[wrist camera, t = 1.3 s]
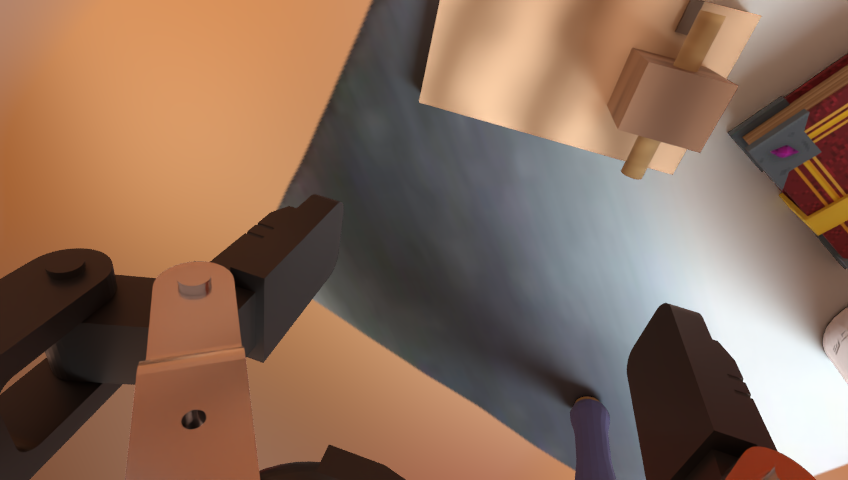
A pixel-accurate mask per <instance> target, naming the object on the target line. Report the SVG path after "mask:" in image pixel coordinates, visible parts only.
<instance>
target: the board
mask: <svg viewBox="0 0 848 480" xmlns="http://www.w3.org/2000/svg"><path fill="white" fill-rule="evenodd" d="M700 10H703V11H707V12H711V13H715V14H719V15H723V16H726V18H725V20H724V22H723V24H722V26H721V28H720V30H719V32H718V34H717V36H716V38H715V39H714V41H713V43H712V45H711V47H710V49H709V51H708V53H707V55H706V57H705V59H704V60H703V62H702V64H701V66H704V67H707V68H709V69H711V70H712V71H714V72H716V73H718V74H719V75H721V76H723V77H724V78H726V79H727V77H728V75H729V73H730V72H731V70H732V68H733V66H734V64H735V63H736V61H737V59H738V57H739V56H740V54H741V52H742V50H743V48H744V47H745V45H746V43H747V41H748V39H749V38H750V36H751V34H752V32H753V31H754V29H755V27H756V25H757V23H758V22H759V20H760V18H761V15H757V14H753V13H749V12H745V11H741V10H737V9H733V8H729V7H725V6H721V5H717V4H713V3H709V2H705V1H702V0H440V2H439V7H438V12H437V17H436V22H435V26H434V31H433V36H432V41H431V46H430V51H429V56H428V60H427V65H426V70H425V75H424V80H423V85H422V90H421V95H420V99H419V102H420V103H423V104H427V105H430V106H434V107H437V108H441V109H444V110H448V111H451V112H455V113H458V114H462V115H465V116H469V117H472V118H476V119H479V120H483V121H486V122H490V123H493V124H497V125H500V126H504V127H507V128H511V129H514V130H518V131H521V132H525V133H528V134H532V135H535V136H539V137H542V138H546V139H549V140H553V141H556V142H560V143H563V144H567V145H570V146H574V147H577V148H581V149H584V150H588V151H591V152H595V153H598V154H602V155H605V156H609V157H612V158H616V159H619V160H623V161H626V160H627V158H628V156H629V154H630V152H631V150H632V147H633V145H634V143H635V141H636V139H637V137H638V135H635V134H631V133H628V132H624V131H620V130H618V129H617V127H616V125H615V123H614V120H613V118H612V116H611V114H610V111H609V109H608V107H607V104H608V102H609V100H610V97H611V95H612V93H613V90H614V88H615V86H616V83H617V81H618V79H619V77H620V74H621V72H622V70H623V67H624V65H625V63H626V60H627V58H628V56H629V54H630V51H631V49H632V48H636V49H640V50H644V51H648V52H651V53H655V54H659V55H663V56H667V57H670V58H674V59H676V58H677V56H678V54H679V52H680V50H681V48H682V45H683V43H684V41H685V39H686V37H687V35H688V33H689V31H690V29H691V27H692V25H693V23H694V21H695V19H696V17H697V15H698V13H699V11H700ZM686 150H687V149H685V148H681V147H678V146H674V145H670V144H667V143H663V142H661V143H660V145H659V147H658V148H657V150H656V152H655V154H654V156H653V158H652V160H651V162H650V164H649V166H648V168H651V169H654V170H658V171H661V172H665V173H668V174H672V175H673V173H674V171H675V170H676V168H677V166H678V164H679V162H680V161H681V159H682V157H683V155H684V154H685V152H686Z"/></svg>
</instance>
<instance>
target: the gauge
mask: <svg viewBox="0 0 848 480" xmlns="http://www.w3.org/2000/svg"><path fill="white" fill-rule="evenodd" d="M725 18H726V16H723V15H719V14H715V13H711V12H707V11H703V10H700V11H699V13H698V15H697V17H696V19H695V21H694V23H693V25H692V27H691V29H690V31H689V33H688V35H687V37H686V39H685V41H684V43H683V45H682V48H681V50H680V52H679V54H678V56H677V58H676V59H674V58H670V57H667V56H663V55H659V54H655V53H651V52H648V51H644V50H640V49H636V48H632V49H631V51H630V54H629V56H628V58H627V60H626V63H625V65H624V67H623V70H622V72H621V74H620V77H619V79H618V81H617V83H616V86H615V88H614V90H613V93H612V95H611V97H610V100H609V102H608V104H607V107H608V109H609V111H610V114H611V116H612V118H613V120H614V123H615V125H616V127H617V129H618V130H620V131H624V132H628V133H631V134H635V135H638V137H637V139H636V141H635V143H634V145H633V147H632V150H631V152H630V154H629V156H628V158H627V160H626V162H625V164H624V166H623V168H622V170H621V172H622V173H623V174H624V175H626V176H628V177H630V178H633V179H642V177H643V175H644V173H645V171H646V169H647V168H648V166H649V164H650V162H651V160H652V158H653V156H654V154H655V152H656V150H657V148H658V147H659V145H660V143H661V142H663V143H667V144H670V145H674V146H678V147H681V148H685V149H688V150H692V151H695V152H699V153H700V152H701V150H702V148H703V147H704V145H705V143H706V142H707V140H708V138H709V136H710V135H711V133H712V131H713V130H714V128H715V126H716V124H717V123H718V121H719V119H720V117H721V116H722V114H723V112H724V111H725V109H726V107H727V105H728V104H729V102H730V100H731V99H732V97H733V95H734V93H735V92H736V90H737V88H738V85H736V84H734V83H733V82H731V81H729V80H728V79H726V78H724V77H723V76H721V75H719V74H718V73H716V72H714V71H712V70H711V69H709V68H707V67H704V66H701V64H702V62H703V60H704V59H705V57H706V55H707V53H708V51H709V49H710V47H711V45H712V43H713V41H714V39H715V38H716V36H717V34H718V32H719V30H720V28H721V26H722V24H723V22H724V20H725Z"/></svg>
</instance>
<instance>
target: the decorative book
mask: <svg viewBox="0 0 848 480" xmlns="http://www.w3.org/2000/svg"><path fill="white" fill-rule="evenodd" d="M728 134H729V135H730V136H731V137H732V138H733V140H734V141H735V142H736V143H737V144H738V145H739V146H740V148H741V149H742V150H743V151H744V152H745V153H746V155H747V156H748V157H749V158H750V159H751V160H752V161H753V163H754V164H755V165H756V166H757V167H758V168H759V169H760V170H761V172H763V171H765V173H766V174H767V175H768V176H769V177H770V178H771V180H772V181H773V182H774V183H775V184H776V186H777V187H778V188H779V189H780V190H781V191H782V193H781V194H779V196H780V197H781V199H782V200H783V201H784V202H785V203H786V204H787V206H788V207H789V208H790V209H791V210H792V211H793V212H794V213H795V214H796V215H797V216H798V217H799V218H800V219H801V220H802V221H803V222H804V223H805V224H806V225H807V226H808V227H809V228H810V229H811V230H812V231H813V232H814V234H815V235H816V236H817V237H818V238H819V240H820V241H821V242H822V243H823V244H824V246H825V247H826V248H827V249H828V250H829V252H830V253H831V254H832V255H833V256H834V257H835V259H836V260H837V261H838V262H839V263H840V265H841V266H842V267H843V268H844V269H847V268H848V54H846V55H845V56H844V57H842V58H841V59H839V60H838V61H836V62H835V63H833V64H832V65H831V66H829V67H828V68H826V69H825V70H823V71H822V72H820V73H819V74H818V75H816V76H815V77H813V78H812V79H810V80H809V81H807V82H806V83H805V84H803V85H802V86H800V87H799V88H797V89H796V90H794V91H793V92H792V93H790V94H789V95H787V96H786V97H784V98H783V97H779V98H778V99H776V100H775V101H773V102H772V103H771V104H769V105H768V106H766V107H765V108H763V109H762V110H760V111H759V112H757V113H756V114H754V115H753V116H752V117H750V118H749V119H747V120H746V121H744V122H743V123H741V124H740V125H738V126H737V127H736V128H734V129H733V130H731V131H730V132H728Z"/></svg>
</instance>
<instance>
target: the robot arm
mask: <svg viewBox="0 0 848 480" xmlns="http://www.w3.org/2000/svg"><path fill="white" fill-rule="evenodd" d="M343 213H344V205H343V203H342V202H339V201H336V200H333V199H330V198H326V197H323V196H320V195H317V194H313V195H311V196H310V197H309V198H308V199H307V200H306V201H305V202H303V203H302V204H301V205H300V206H299V207H298V208H294V207H290V206H288V207H285V208H282V209H279V210H276V211H274V212H271V213H269V214H268V215H267V216H266V217H265V218H263V219H262V220H261V221H260V222H259V223H258V225H255V226H254V227H252V228H251V229H250V230H249V231H248V232H247V234H246V233H245V234H244V235H242V236H241V237H240V238H239V239H238V240H236V241H235V242H234V243H233V244H231V245H230V246H229V247H228V248H227V249H225V250H224V251H223V252H222V253H220V254H219V255H218V256H217V257H215V258H214V259H213V260H212V261H210V262H203V261H197V262H196V261H194V262H187V263H182V264H179V265H175V266H173V267H171V268H169V269H167V270H165V271H164V272H162V273H161V274H160V275H159V276H158V277H157V278H145V277H135V276H124V275H115V274H114V269H113V264H112V261H111V259H110V258H109V257H108V256H107V255H106V254H104V253H102V252H99V251H96V250H92V249H66V250H59V251H55V252H52V253H48V254H45V255H42V256H40V257H38V258H36V259H34V260H32V261H30V262H29V263H27V264H25V265H24V266H22V267H20V268H18V269H17V270H15V271H13V272H12V273H10V274H8V275H6V276H5V277H3V278H1V279H0V392H1V390H2V389H3V387H4V386H5V385H6V383H7V382H8V381H9V380H10V379H11V378H12V377H13V376H14V375H15V374H17V373H18V372H19V371H20V370H22V369H23V368H24V367H26V366H27V365H28V364H30V363H31V362H32V361H33V360H35V359H36V358H37V357H38V356H40V355H41V354H42V353H43V352H45V353H46V356H47V358H45V359H44V360H43V361H42V362H41V363H39V364H38V365H37V366H35V367H34V368H33V369H32V370H30V371H29V372H28V373H27V374H25V375H24V376H23V377H22V378H20V379H19V380H18V381H17V382H15V383H14V384H13V385H12V386H11V387H9V388H8V389H7V390H6V391H5V392H3V393H2V394H1V395H0V480H29V479H31V477H33V476H34V474H35V473H36V472H37V471H38V470H39V469H40V468H41V467H42V466H43V465H44V464H45V463H46V462H47V461H48V460H49V459H50V458H51V457H52V456H53V455H54V454H55V453H56V452H57V451H58V450H59V449H60V448H61V447H62V446H63V445H64V444H65V443H66V442H67V441H68V440H69V438H71V437H72V436H73V435H74V434H75V432H76V431H77V430H78V429H79V428H80V427H81V426H82V425H83V424H84V423H85V422H86V421H87V420H88V419H89V418H90V417H91V416H92V415H93V414H94V413H95V412H96V411H97V410H98V409H99V408H100V407H101V406H102V405H103V404H104V403H105V402H106V400H108V399H109V398H110V397H111V396H112V394H114V392H115V391H116V390H117V389H118V388H119V387H120V386H121V385H122V384H135V393H134V401H133V411H132V419H131V429H130V437H129V447H128V455H127V465H126V474H125V480H405V479H404V478H402V477H401V476H399V475H398V474H397V473H395V472H394V471H392V470H391V469H390V468H388V467H387V466H385V465H383V464H380V463H377V462H375V461H372V460H369V459H367V458H364V457H361V456H358V455H356V454H353V453H350V452H348V451H345V450H342V449H339V448H337V447H334V446H331V445H329V446H328V448H327V450H326V452H325V454H324V456H323V458H322V460H321V462H293V463H287V464H280V465H277V466H273V467H269V468H266V469H263V470H260V471H259V465H258V457H257V448H256V440H255V432H254V425H253V415H252V408H251V399H250V390H249V382H248V374H247V365H246V357H249V358H252V359H254V360H257V361H260V362H263V363H264V361H265V360H266V359H267V357H268V356H269V355H270V354H271V352H272V351H273V350H274V348H275V347H276V346H277V344H278V343H279V342H280V340H281V339H282V338H283V336H284V335H285V334H286V332H287V331H288V330H289V328H290V327H291V326H292V325H293V323H294V322H295V321H296V320H297V318H298V317H299V316H300V314H301V313H302V312H303V310H304V309H305V308H306V306H307V305H308V304H309V303H310V301H311V300H312V299H313V297H314V296H315V295H316V293H317V292H318V291H319V290H320V288H321V287H322V286H323V284H324V283H325V282H326V280H327V279H328V278H329V276H330V275H331V273H332V272H333V270H334V267H335V265H336V262H337V259H338V254H339V247H340V238H341V230H342V222H343ZM823 347H824V351H825V353H826V354H827V356H828V357H829V359H830V360H831V362H832V363H833V364H834V366H835V367H836V369H837V370H838V371H839V373H840V374H841V375H842V377H843V378H844V380H845V381H846V382H847V384H848V307H847V308H846V309H844V310H843V311H841V312H840V313H839V314H838V315H837V316H836V317H834V318H833V320H832V321H831V322H830V324H829V325H828V326H827V328H826V330H825V333H824V335H823ZM627 376H628V382H629V387H630V393H631V398H632V404H633V410H634V415H635V421H636V426H637V432H638V437H639V443H640V448H641V454H642V459H643V465H644V471H645V476H646V480H816V479H815V478H814V477H813V476H812V475H811V474H810V473H809V472H808V471H807V470H806V469H804V468H803V467H802V466H801V465H799V464H798V463H796V462H795V461H794V460H792V459H791V458H789V457H787V456H785V455H784V454H782V453H779V452H778V451H777V449H776V447H775V445H774V443H773V441H772V439H771V437H770V434H769V432H768V430H767V428H766V426H765V424H764V422H763V420H762V417H761V415H760V413H759V411H758V409H757V407H756V405H755V403H754V400H753V399H751V398H750V396H751V394H750V392H749V390H748V388H747V386H746V383H744V382H743V377H742V375H741V373H740V371H739V369H738V366H737V364H736V362H735V360H734V359H733V358H732V357H731V356H730V355H729V353H728V352H727V351H726V350H725V349H724V348H723V347H722V345H721V344H720V343H719V342H718V341H715V340H712V338H711V336H710V333H709V331H708V329H707V326H706V324H705V322H704V319H703V317H702V316H701V314H699V313H697V312H694V311H691V310H687V309H684V308H681V307H678V306H674V305H671V304H668V303H664V304H662V305H661V306H659V308H658V309H657V310H656V312H655V313H654V315H653V317H652V318H651V320H650V321H649V323H648V325H647V326H646V328H645V329H644V331H643V332H642V334H641V336H640V337H639V339H638V340H637V342H636V344H635V345H634V347H633V349H632V350H631V353H630V355H629V359H628V364H627Z"/></svg>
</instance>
